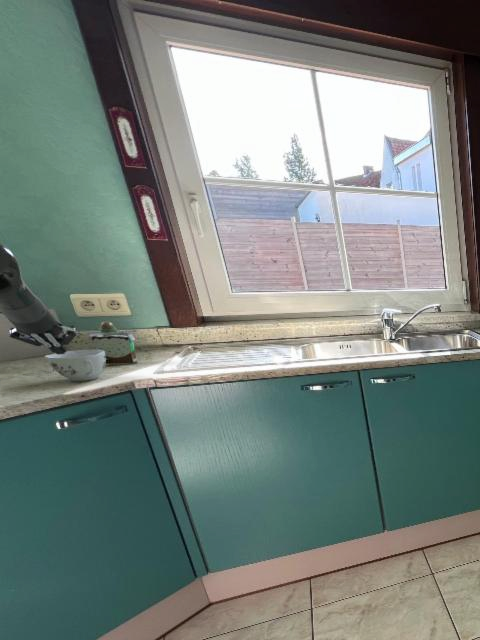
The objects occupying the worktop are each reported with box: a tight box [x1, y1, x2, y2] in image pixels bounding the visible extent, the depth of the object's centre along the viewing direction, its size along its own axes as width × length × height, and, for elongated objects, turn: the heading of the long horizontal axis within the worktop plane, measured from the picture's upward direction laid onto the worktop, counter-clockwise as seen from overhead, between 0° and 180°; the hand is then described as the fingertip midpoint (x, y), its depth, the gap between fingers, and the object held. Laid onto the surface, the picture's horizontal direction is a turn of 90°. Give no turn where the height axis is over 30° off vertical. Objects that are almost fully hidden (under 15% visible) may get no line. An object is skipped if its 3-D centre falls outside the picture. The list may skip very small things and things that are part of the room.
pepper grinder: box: [98, 320, 119, 333], centre depth 178 cm, size 5×5×12 cm
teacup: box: [44, 349, 107, 382], centre depth 146 cm, size 15×12×8 cm
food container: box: [88, 331, 138, 365], centre depth 169 cm, size 12×6×10 cm, turn 100°
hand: (61, 351), depth 136 cm, fingers closed
